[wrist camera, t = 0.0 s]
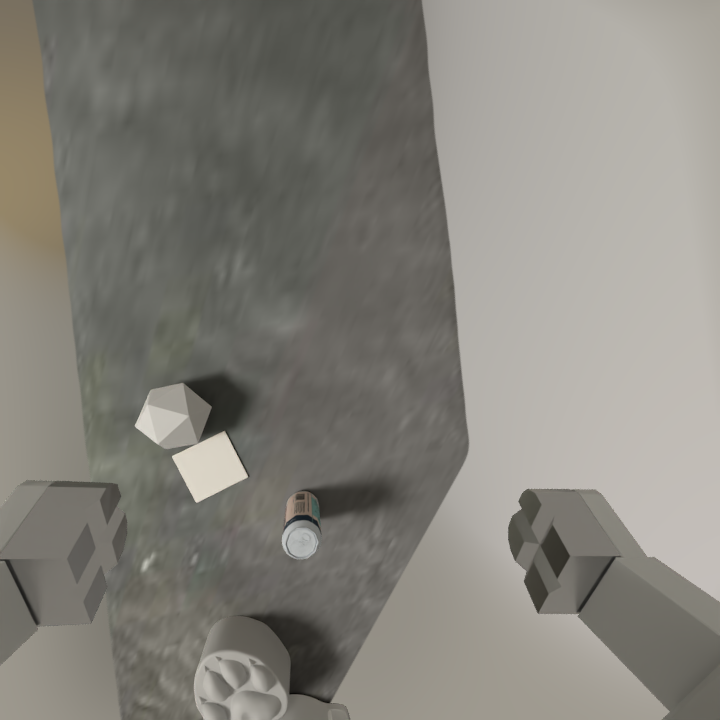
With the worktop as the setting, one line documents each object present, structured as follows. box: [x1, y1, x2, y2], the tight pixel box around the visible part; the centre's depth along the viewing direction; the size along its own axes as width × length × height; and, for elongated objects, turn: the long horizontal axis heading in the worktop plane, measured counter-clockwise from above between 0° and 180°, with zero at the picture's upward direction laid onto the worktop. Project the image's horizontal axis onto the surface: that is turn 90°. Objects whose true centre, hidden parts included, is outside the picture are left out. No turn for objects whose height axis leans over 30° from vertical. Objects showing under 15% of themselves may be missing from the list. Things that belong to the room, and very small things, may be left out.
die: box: [135, 383, 212, 449], centre depth 57 cm, size 8×9×10 cm
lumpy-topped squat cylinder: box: [194, 616, 291, 720], centre depth 59 cm, size 10×13×9 cm
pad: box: [172, 431, 248, 503], centre depth 61 cm, size 8×8×1 cm
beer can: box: [282, 491, 322, 559], centre depth 57 cm, size 5×5×12 cm
